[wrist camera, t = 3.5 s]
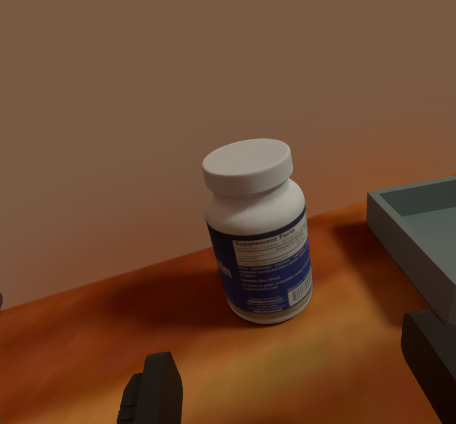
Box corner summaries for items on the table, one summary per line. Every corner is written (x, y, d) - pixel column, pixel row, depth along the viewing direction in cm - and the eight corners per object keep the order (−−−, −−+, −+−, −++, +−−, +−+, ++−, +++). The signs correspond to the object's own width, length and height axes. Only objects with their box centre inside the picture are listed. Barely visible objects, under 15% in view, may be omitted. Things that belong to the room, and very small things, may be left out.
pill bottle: (225, 273, 25) (193, 146, 20) (300, 259, 25) (287, 128, 20) (229, 336, 20) (189, 187, 15) (325, 319, 20) (315, 162, 15)
